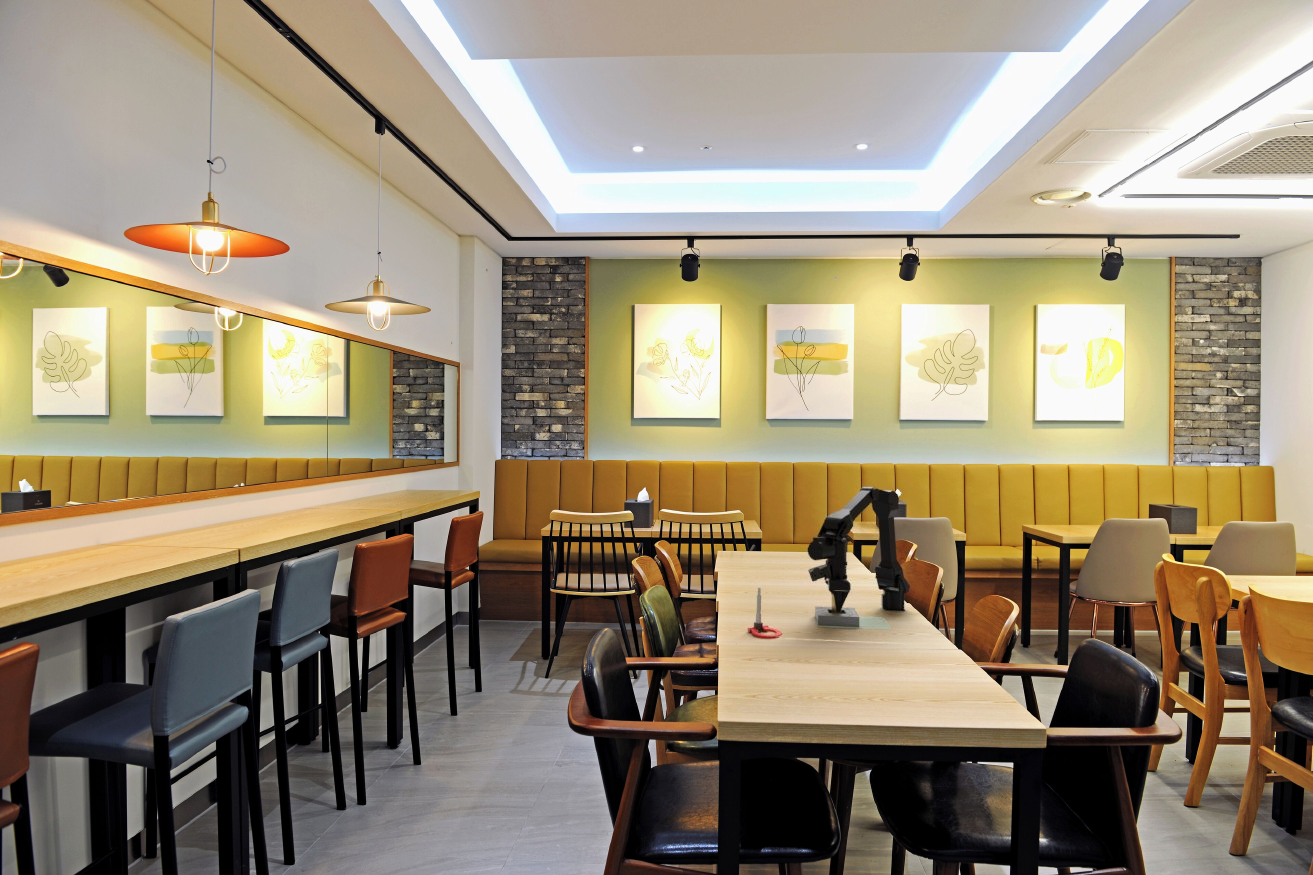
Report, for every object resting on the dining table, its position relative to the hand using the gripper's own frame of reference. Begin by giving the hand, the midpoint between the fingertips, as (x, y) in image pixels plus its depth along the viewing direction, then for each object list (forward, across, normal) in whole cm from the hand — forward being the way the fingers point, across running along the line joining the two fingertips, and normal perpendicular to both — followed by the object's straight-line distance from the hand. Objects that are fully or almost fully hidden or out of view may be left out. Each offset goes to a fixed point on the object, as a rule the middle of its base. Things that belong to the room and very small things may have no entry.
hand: (836, 608), depth 224 cm
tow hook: (+5, +17, -22) cm, 28 cm away
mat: (+4, 0, +4) cm, 6 cm away
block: (+4, 0, 0) cm, 4 cm away
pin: (+4, 0, 0) cm, 4 cm away
